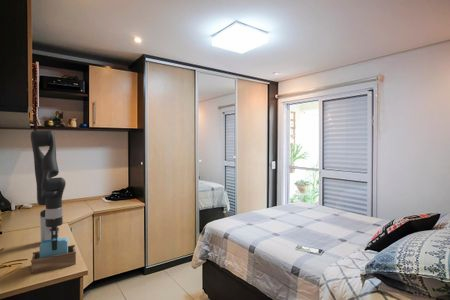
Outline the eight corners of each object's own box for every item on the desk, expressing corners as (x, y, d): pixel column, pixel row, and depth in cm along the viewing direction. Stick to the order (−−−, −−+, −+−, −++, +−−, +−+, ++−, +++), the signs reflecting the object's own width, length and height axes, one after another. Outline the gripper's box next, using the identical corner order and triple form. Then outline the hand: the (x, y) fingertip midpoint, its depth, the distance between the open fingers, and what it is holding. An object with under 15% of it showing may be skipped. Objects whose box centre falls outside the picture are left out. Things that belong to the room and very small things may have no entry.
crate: (32, 264, 137) (32, 252, 137) (74, 256, 147) (74, 244, 147) (31, 273, 127) (30, 260, 127) (76, 264, 137) (76, 252, 137)
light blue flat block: (68, 259, 142) (67, 236, 142) (67, 262, 138) (67, 239, 138) (41, 263, 137) (40, 240, 136) (39, 267, 133) (39, 243, 132)
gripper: (45, 214, 141) (46, 244, 141) (44, 220, 129) (45, 253, 129) (62, 212, 145) (62, 241, 145) (62, 218, 133) (63, 250, 133)
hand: (54, 247), depth 137 cm, fingers open, 8 cm apart
